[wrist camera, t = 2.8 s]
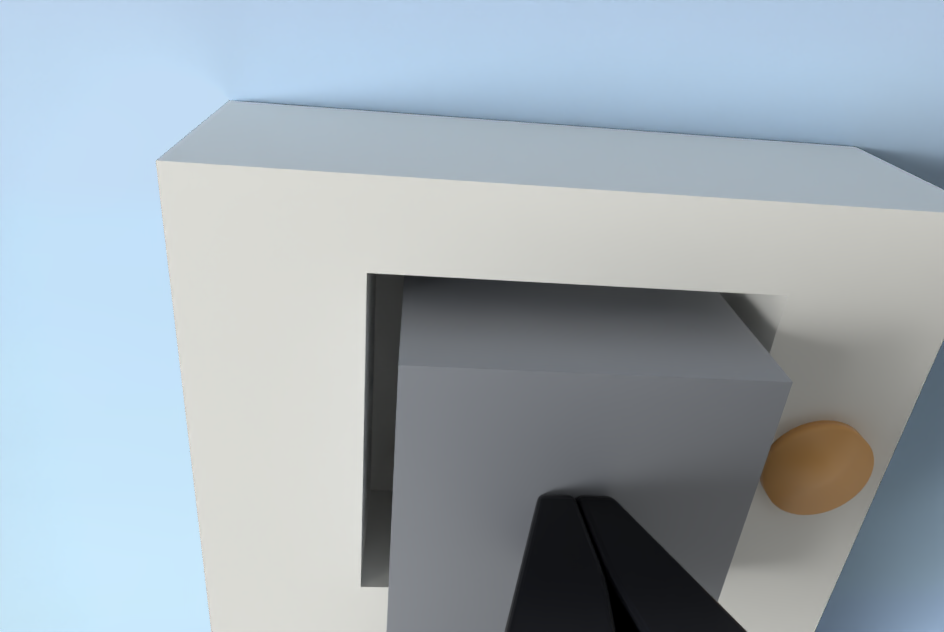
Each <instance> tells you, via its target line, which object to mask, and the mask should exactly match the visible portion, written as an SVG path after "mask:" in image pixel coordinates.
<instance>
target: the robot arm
mask: <svg viewBox="0 0 944 632" xmlns="http://www.w3.org/2000/svg"><path fill="white" fill-rule="evenodd" d="M504 632H747V631H746V630H745V629H744V628H743V627H742V626H741V625H740V624H739V623H738V622H737V621H736V620H735V619H734V618H733V617H732V616H731V615H730V614H729V613H728V612H727V611H726V610H725V609H724V608H723V607H722V606H721V605H720V604H719V603H718V602H717V601H716V600H715V599H714V598H713V597H712V596H711V595H710V594H709V593H708V592H707V591H706V590H705V589H704V588H703V587H702V586H701V585H700V584H699V583H698V582H697V581H696V580H695V579H694V578H693V577H692V576H691V575H690V574H689V573H688V572H687V571H686V570H685V569H684V568H683V567H682V566H681V565H680V564H679V563H678V562H677V561H676V560H675V559H674V558H673V557H672V556H671V555H670V554H669V553H668V552H667V551H666V550H665V549H664V548H663V547H662V546H661V545H660V544H659V543H658V542H657V541H656V540H655V539H654V538H653V537H652V536H651V535H650V534H649V533H648V532H647V531H646V530H645V529H644V528H643V527H642V526H641V525H640V524H639V523H638V522H637V521H636V520H635V519H634V518H633V517H632V516H631V515H630V514H629V513H628V512H627V511H626V510H625V509H624V508H623V507H622V506H621V505H620V504H619V503H618V502H617V501H616V500H615V499H613V498H612V497H609V496H587V495H581V496H579V497H577V498H576V499H575V498H573V497H572V496H571V495H552V494H542V495H540V496H539V497H538V499H537V502H536V506H535V510H534V514H533V518H532V522H531V526H530V530H529V534H528V538H527V542H526V546H525V550H524V554H523V558H522V562H521V566H520V570H519V574H518V578H517V582H516V586H515V590H514V594H513V599H512V603H511V607H510V611H509V615H508V619H507V623H506V627H505V631H504Z"/></svg>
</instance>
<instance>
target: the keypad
mask: <svg viewBox="0 0 944 632" xmlns="http://www.w3.org/2000/svg"><path fill="white" fill-rule="evenodd" d="M156 166H157V175H158V183H159V192H160V200H161V209H162V217H163V226H164V234H165V243H166V251H167V260H168V268H169V277H170V285H171V293H172V302H173V310H174V319H175V327H176V336H177V344H178V353H179V361H180V370H181V378H182V387H183V395H184V403H185V412H186V420H187V429H188V437H189V446H190V454H191V463H192V471H193V480H194V488H195V497H196V505H197V513H198V522H199V530H200V539H201V547H202V556H203V564H204V573H205V581H206V590H207V598H208V607H209V615H210V624H211V632H387V610H388V587H389V565H390V542H391V520H392V497H393V474H394V452H395V429H396V407H397V384H398V363H399V348H400V332H401V317H402V302H403V287H404V275H413V276H432V277H450V278H469V279H487V280H506V281H524V282H543V283H561V284H580V285H598V286H617V287H635V288H654V289H672V290H691V291H709V292H719V293H720V294H721V296H722V297H723V298H724V299H725V301H726V302H727V303H728V304H729V305H730V307H731V308H732V309H733V310H734V311H735V313H736V314H737V315H738V316H739V317H740V319H741V320H742V321H743V322H744V324H745V325H746V326H747V327H748V328H749V330H750V331H751V332H752V333H753V334H754V336H755V337H756V338H757V339H758V341H759V342H760V343H761V344H762V345H763V347H764V348H765V349H766V350H767V351H768V353H769V354H770V355H771V356H772V357H773V359H774V360H775V361H776V362H777V364H778V365H779V366H780V367H781V368H782V370H783V371H784V372H785V373H786V374H787V376H788V377H789V378H790V379H791V380H792V382H793V383H792V386H791V389H790V392H789V395H788V398H787V401H786V404H785V407H784V410H783V412H782V415H781V418H780V421H779V424H778V427H777V430H776V433H775V436H774V439H773V442H772V445H771V448H770V450H769V453H768V456H767V459H766V462H765V465H764V468H763V471H762V474H761V477H760V480H759V483H758V485H757V488H756V491H755V494H754V497H753V500H752V503H751V506H750V509H749V512H748V515H747V518H746V521H745V523H744V526H743V529H742V532H741V535H740V538H739V541H738V544H737V547H736V550H735V553H734V556H733V559H732V561H731V564H730V567H729V570H728V573H727V576H726V579H725V582H724V585H723V588H722V591H721V594H720V597H719V599H718V603H719V604H720V605H721V606H722V607H723V608H724V609H725V610H726V611H727V612H728V613H729V614H730V615H731V616H732V617H733V618H734V619H735V620H736V621H737V622H738V623H739V624H740V625H741V626H742V627H743V628H744V629H745V630H746V631H747V632H815V630H816V627H817V625H818V623H819V621H820V618H821V616H822V614H823V612H824V609H825V607H826V605H827V602H828V600H829V598H830V596H831V593H832V591H833V589H834V587H835V584H836V582H837V580H838V578H839V575H840V573H841V571H842V569H843V566H844V564H845V562H846V559H847V557H848V555H849V553H850V550H851V548H852V546H853V544H854V541H855V539H856V537H857V535H858V532H859V530H860V528H861V526H862V523H863V521H864V519H865V516H866V514H867V512H868V510H869V507H870V505H871V503H872V501H873V498H874V496H875V494H876V492H877V489H878V487H879V485H880V482H881V480H882V478H883V476H884V473H885V471H886V469H887V467H888V464H889V462H890V460H891V458H892V455H893V453H894V451H895V449H896V446H897V444H898V442H899V439H900V437H901V435H902V433H903V430H904V428H905V426H906V424H907V421H908V419H909V417H910V415H911V412H912V410H913V408H914V405H915V403H916V401H917V399H918V396H919V394H920V392H921V390H922V387H923V385H924V383H925V381H926V378H927V376H928V374H929V372H930V369H931V367H932V365H933V362H934V360H935V358H936V356H937V353H938V351H939V349H940V347H941V344H942V342H943V340H944V190H943V189H941V188H939V187H937V186H935V185H933V184H931V183H929V182H927V181H925V180H923V179H921V178H919V177H916V176H914V175H912V174H910V173H908V172H906V171H904V170H902V169H900V168H898V167H896V166H894V165H892V164H890V163H888V162H886V161H884V160H882V159H879V158H877V157H875V156H873V155H871V154H869V153H867V152H865V151H863V150H861V149H859V148H857V147H852V146H839V145H825V144H811V143H798V142H784V141H771V140H757V139H744V138H730V137H717V136H703V135H690V134H676V133H663V132H649V131H636V130H622V129H608V128H595V127H581V126H568V125H554V124H541V123H527V122H514V121H500V120H487V119H473V118H460V117H446V116H433V115H419V114H405V113H392V112H378V111H365V110H351V109H338V108H324V107H311V106H297V105H284V104H270V103H257V102H243V101H230V100H229V101H228V102H226V103H225V104H224V105H223V106H222V107H220V108H219V109H218V110H217V111H215V112H214V113H213V114H212V115H211V116H209V117H208V118H207V119H206V120H204V121H203V122H202V123H201V124H200V125H198V126H197V127H196V128H195V129H194V130H192V131H191V132H190V133H189V134H187V135H186V136H185V137H184V138H183V139H181V140H180V141H179V142H178V143H176V144H175V145H174V146H173V147H172V148H170V149H169V150H168V151H167V152H166V153H164V154H163V155H162V156H161V157H159V158H158V159H157V160H156Z"/></svg>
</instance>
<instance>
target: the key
mask: <svg viewBox="0 0 944 632" xmlns="http://www.w3.org/2000/svg"><path fill="white" fill-rule="evenodd" d="M792 383H793V382H792V380H791V379H790V378H789V377H788V376H787V374H786V373H785V372H784V371H783V370H782V368H781V367H780V366H779V365H778V364H777V362H776V361H775V360H774V359H773V357H772V356H771V355H770V354H769V353H768V351H767V350H766V349H765V348H764V347H763V345H762V344H761V343H760V342H759V341H758V339H757V338H756V337H755V336H754V334H753V333H752V332H751V331H750V330H749V328H748V327H747V326H746V325H745V324H744V322H743V321H742V320H741V319H740V317H739V316H738V315H737V314H736V313H735V311H734V310H733V309H732V308H731V307H730V305H729V304H728V303H727V302H726V301H725V299H724V298H723V297H722V296H721V294H720V293H719V292H709V291H691V290H672V289H654V288H635V287H617V286H598V285H580V284H561V283H543V282H524V281H506V280H487V279H469V278H450V277H432V276H413V275H404V287H403V302H402V317H401V332H400V348H399V363H398V384H397V407H396V429H395V452H394V474H393V497H392V520H391V542H390V565H389V587H388V610H387V632H504V631H505V627H506V623H507V619H508V615H509V611H510V607H511V603H512V599H513V594H514V590H515V586H516V582H517V578H518V574H519V570H520V566H521V562H522V558H523V554H524V550H525V546H526V542H527V538H528V534H529V530H530V526H531V522H532V518H533V514H534V510H535V506H536V502H537V499H538V497H539V496H540V495H542V494H552V495H571V496H572V497H573V498H575V499H576V498H577V497H579V496H581V495H587V496H609V497H612V498H613V499H615V500H616V501H617V502H618V503H619V504H620V505H621V506H622V507H623V508H624V509H625V510H626V511H627V512H628V513H629V514H630V515H631V516H632V517H633V518H634V519H635V520H636V521H637V522H638V523H639V524H640V525H641V526H642V527H643V528H644V529H645V530H646V531H647V532H648V533H649V534H650V535H651V536H652V537H653V538H654V539H655V540H656V541H657V542H658V543H659V544H660V545H661V546H662V547H663V548H664V549H665V550H666V551H667V552H668V553H669V554H670V555H671V556H672V557H673V558H674V559H675V560H676V561H677V562H678V563H679V564H680V565H681V566H682V567H683V568H684V569H685V570H686V571H687V572H688V573H689V574H690V575H691V576H692V577H693V578H694V579H695V580H696V581H697V582H698V583H699V584H700V585H701V586H702V587H703V588H704V589H705V590H706V591H707V592H708V593H709V594H710V595H711V596H712V597H713V598H714V599H715V600H716V601H717V602H718V599H719V597H720V594H721V591H722V588H723V585H724V582H725V579H726V576H727V573H728V570H729V567H730V564H731V561H732V559H733V556H734V553H735V550H736V547H737V544H738V541H739V538H740V535H741V532H742V529H743V526H744V523H745V521H746V518H747V515H748V512H749V509H750V506H751V503H752V500H753V497H754V494H755V491H756V488H757V485H758V483H759V480H760V477H761V474H762V471H763V468H764V465H765V462H766V459H767V456H768V453H769V450H770V448H771V445H772V442H773V439H774V436H775V433H776V430H777V427H778V424H779V421H780V418H781V415H782V412H783V410H784V407H785V404H786V401H787V398H788V395H789V392H790V389H791V386H792Z"/></svg>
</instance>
